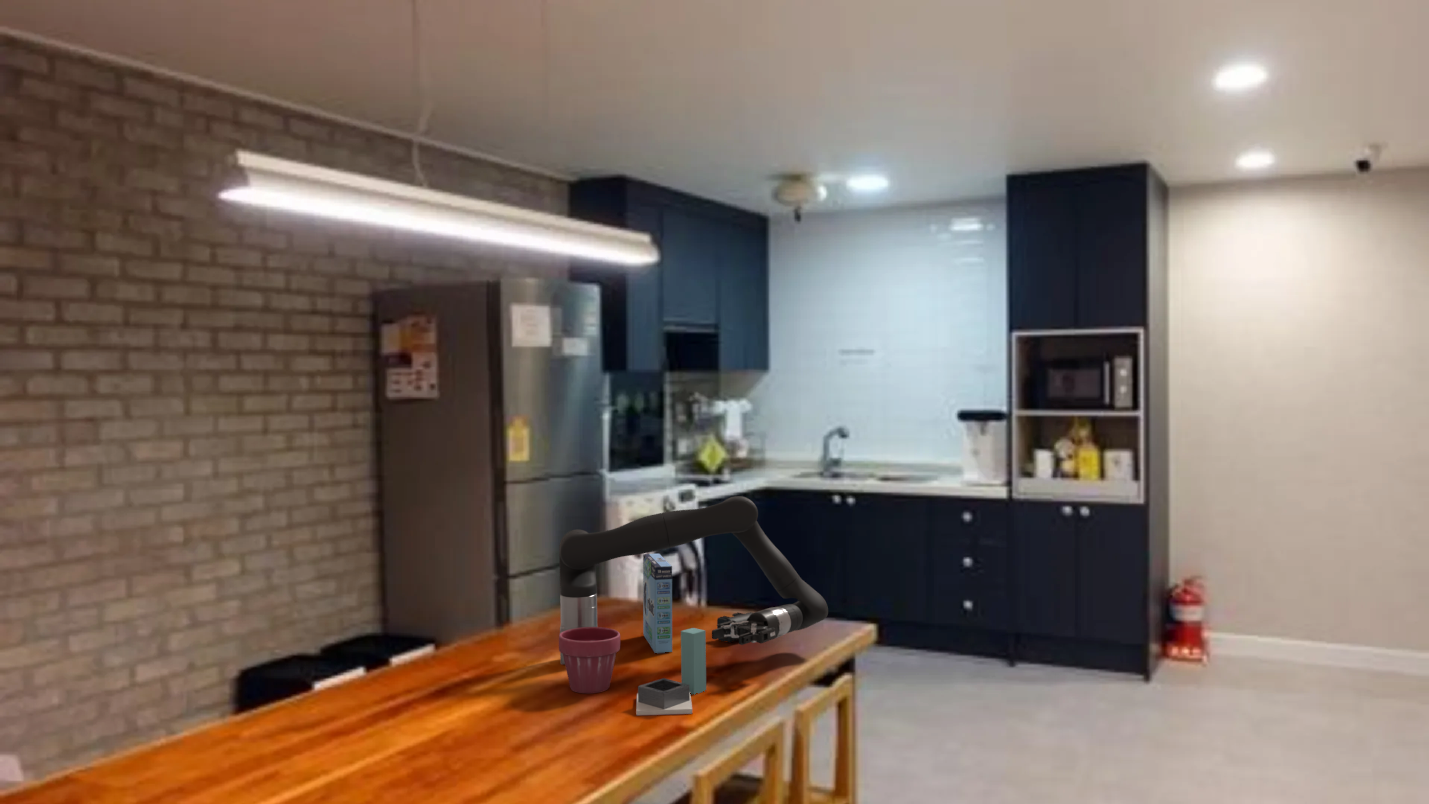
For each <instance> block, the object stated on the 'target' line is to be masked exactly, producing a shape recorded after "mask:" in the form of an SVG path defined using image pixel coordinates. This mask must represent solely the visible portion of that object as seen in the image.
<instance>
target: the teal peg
mask: <svg viewBox="0 0 1429 804" xmlns="http://www.w3.org/2000/svg"><path fill="white" fill-rule="evenodd" d="M706 642H707V639H706V629H705V630H704V629H699V628H696V627H691V628H687V629H683V630H680V654H681V655H680V659H681V660H680V661H681V662H680V663H681V664H680V666H681V667H680V669H681V671H680V673H681V674H680V675H681V683H685V684H689V689H690V693H691V694H690V695H693V694H694V695H693V696H695V694H696V693H698V694H700V693H703V691H704V692H706V691H707V657H706V656H707V655H706V653H707V652H706V651H707V650H706V649H707V648H706V646H707V644H706ZM705 690H706V691H705ZM696 695H697V694H696Z"/></svg>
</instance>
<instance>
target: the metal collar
mask: <svg viewBox="0 0 1429 804" xmlns="http://www.w3.org/2000/svg"><path fill="white" fill-rule="evenodd" d="M637 694H638V702H640V703H644V704H647V705H651V706H654V707H658V708H661V709H667V708H670V707H672V706H675V705H678V704H681V703H684V702H687V701H689V700H690V695H691V694H690V689H689V684H685V683H682V681H681V682H680V681H676V680H673V679H669V678H666V677H663V678H659V679H655V680H653V681H650V682H647V683H643V684H640V685H638V686H637Z"/></svg>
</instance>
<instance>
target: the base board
mask: <svg viewBox="0 0 1429 804" xmlns="http://www.w3.org/2000/svg"><path fill="white" fill-rule="evenodd" d="M691 695H692V694H690V700H689V701H687V702H684V703H681V704H678V705H675V706H672V707H670V708H667V709H661V708H658V707H654V706H651V705H647V704H644V703H640V702H638V693H636V708H635V709H636V711H635V713H636V716H657V715H658V716H660V715H663V716H664V715H685V714H686V715H687V714H688V715H690V714H691V715H692V714H693V703H692V697H691Z"/></svg>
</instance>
